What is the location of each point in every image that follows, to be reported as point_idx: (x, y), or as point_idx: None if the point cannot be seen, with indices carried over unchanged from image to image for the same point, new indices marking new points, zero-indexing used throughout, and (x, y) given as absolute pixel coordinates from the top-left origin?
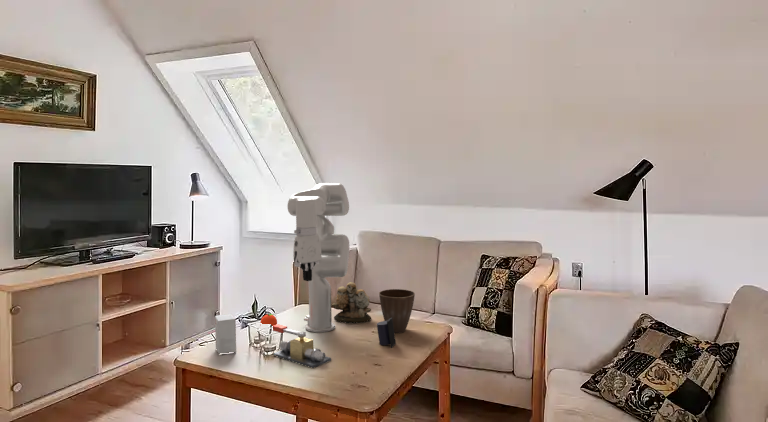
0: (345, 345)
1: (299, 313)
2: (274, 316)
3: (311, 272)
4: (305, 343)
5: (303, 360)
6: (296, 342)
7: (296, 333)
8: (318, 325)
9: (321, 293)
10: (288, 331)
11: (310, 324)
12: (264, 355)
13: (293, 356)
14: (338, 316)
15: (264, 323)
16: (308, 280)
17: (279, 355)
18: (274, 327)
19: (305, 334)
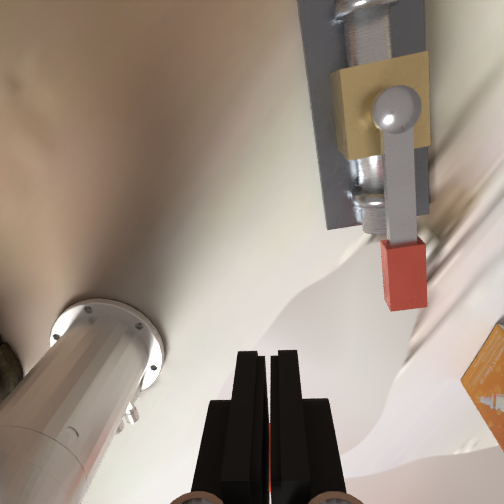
0: (132, 112)
1: (94, 498)
2: None
3: (231, 439)
4: (400, 56)
5: (407, 41)
6: (428, 97)
7: (412, 136)
8: (126, 335)
9: (37, 438)
10: (414, 199)
11: (144, 365)
12: (445, 238)
13: None
14: (1, 379)
15: None
16: (296, 352)
17: (427, 179)
18: (425, 293)
19: (383, 90)
